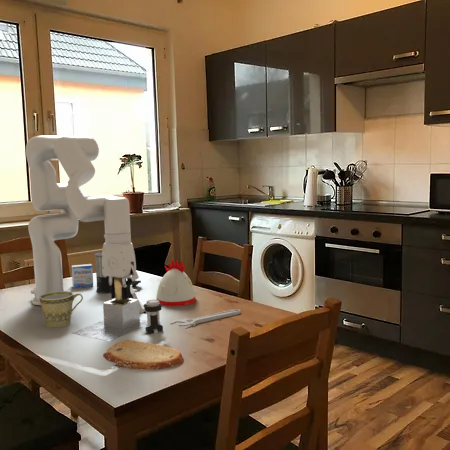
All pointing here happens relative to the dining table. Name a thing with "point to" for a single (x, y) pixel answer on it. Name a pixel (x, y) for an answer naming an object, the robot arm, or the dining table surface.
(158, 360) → the bread slice
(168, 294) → the kitchen timer
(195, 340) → the dining table surface
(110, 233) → the robot arm
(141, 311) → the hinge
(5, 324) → the dining table surface
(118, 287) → the brass pin
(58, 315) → the ceramic cup
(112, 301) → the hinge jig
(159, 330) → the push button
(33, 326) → the dining table surface
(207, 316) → the adjustable wrench
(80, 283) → the medicine box
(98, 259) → the milk frother
